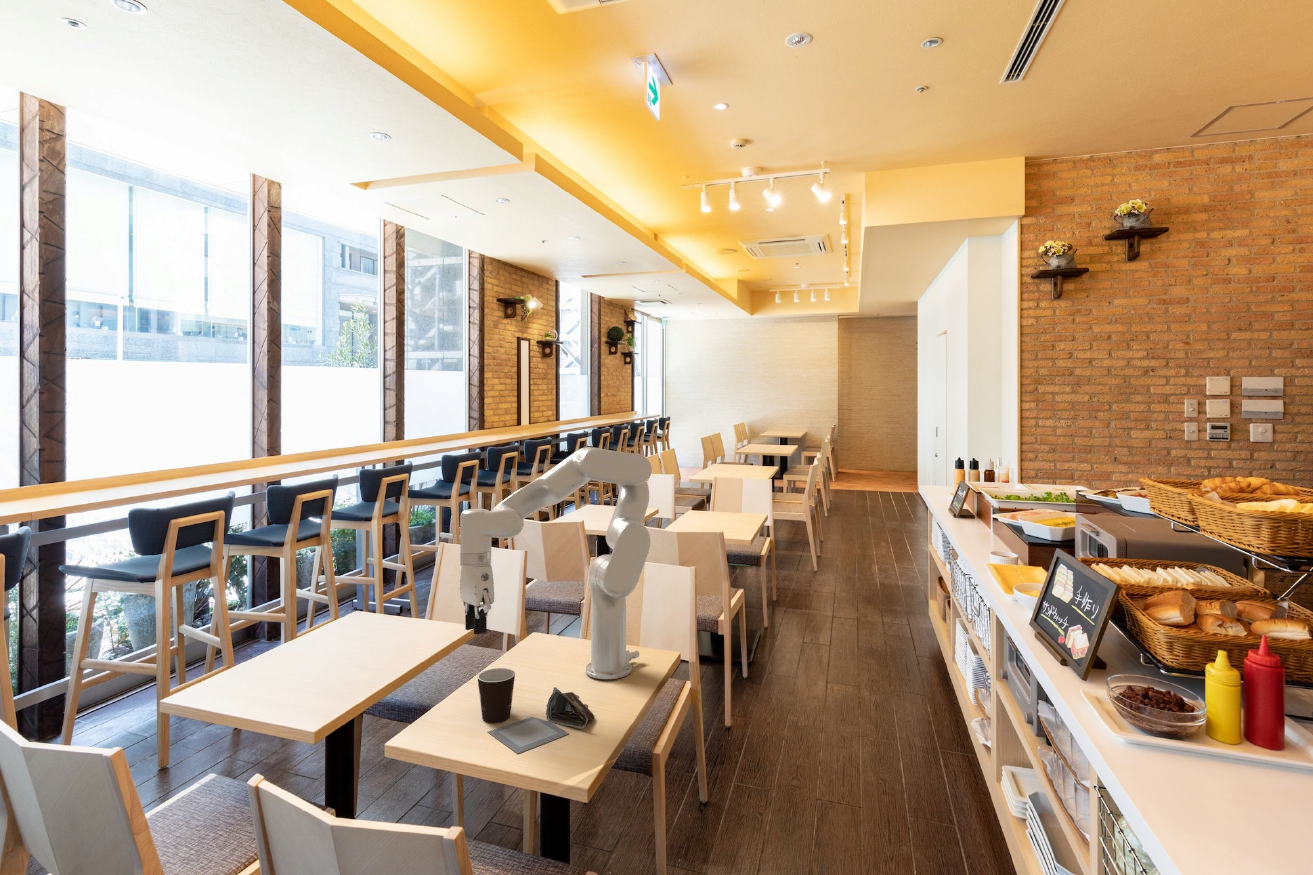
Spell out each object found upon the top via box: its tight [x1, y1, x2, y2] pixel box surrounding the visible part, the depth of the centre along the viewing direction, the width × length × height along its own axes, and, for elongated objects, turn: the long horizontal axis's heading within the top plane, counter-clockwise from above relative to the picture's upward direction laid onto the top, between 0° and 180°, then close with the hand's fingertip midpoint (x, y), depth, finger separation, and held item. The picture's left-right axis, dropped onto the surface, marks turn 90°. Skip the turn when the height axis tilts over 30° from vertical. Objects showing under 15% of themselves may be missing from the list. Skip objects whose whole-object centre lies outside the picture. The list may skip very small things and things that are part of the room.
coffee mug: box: [477, 667, 516, 724], centre depth 152 cm, size 12×9×10 cm
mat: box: [487, 716, 570, 755], centre depth 142 cm, size 13×13×1 cm
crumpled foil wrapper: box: [545, 687, 595, 730], centre depth 149 cm, size 10×7×12 cm
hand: (475, 630), depth 160 cm, fingers open, 3 cm apart
